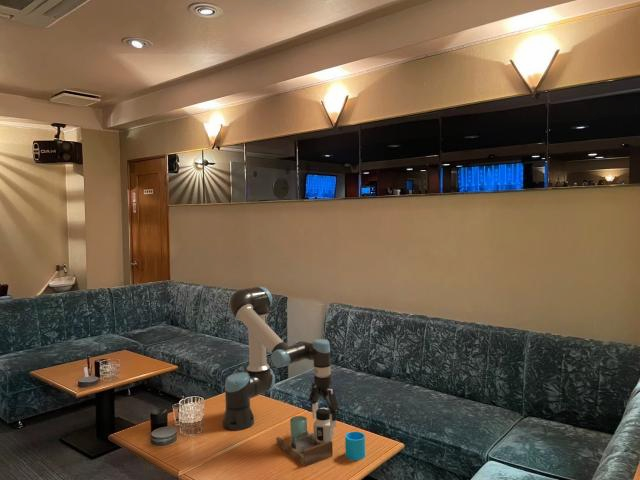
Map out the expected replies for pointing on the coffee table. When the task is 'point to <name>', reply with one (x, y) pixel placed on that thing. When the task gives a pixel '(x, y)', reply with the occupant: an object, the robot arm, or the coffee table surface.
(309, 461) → the frame
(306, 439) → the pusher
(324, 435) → the container
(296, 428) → the capsule
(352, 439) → the mug
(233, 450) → the coffee table surface
